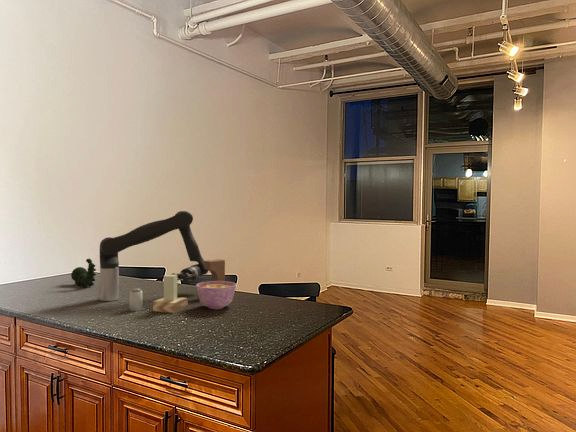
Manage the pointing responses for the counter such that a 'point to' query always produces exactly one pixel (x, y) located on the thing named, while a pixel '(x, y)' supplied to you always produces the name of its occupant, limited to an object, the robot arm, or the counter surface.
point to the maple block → (170, 305)
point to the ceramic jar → (136, 299)
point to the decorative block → (216, 269)
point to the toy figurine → (84, 275)
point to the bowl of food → (216, 293)
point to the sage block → (170, 287)
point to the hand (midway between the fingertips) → (177, 279)
